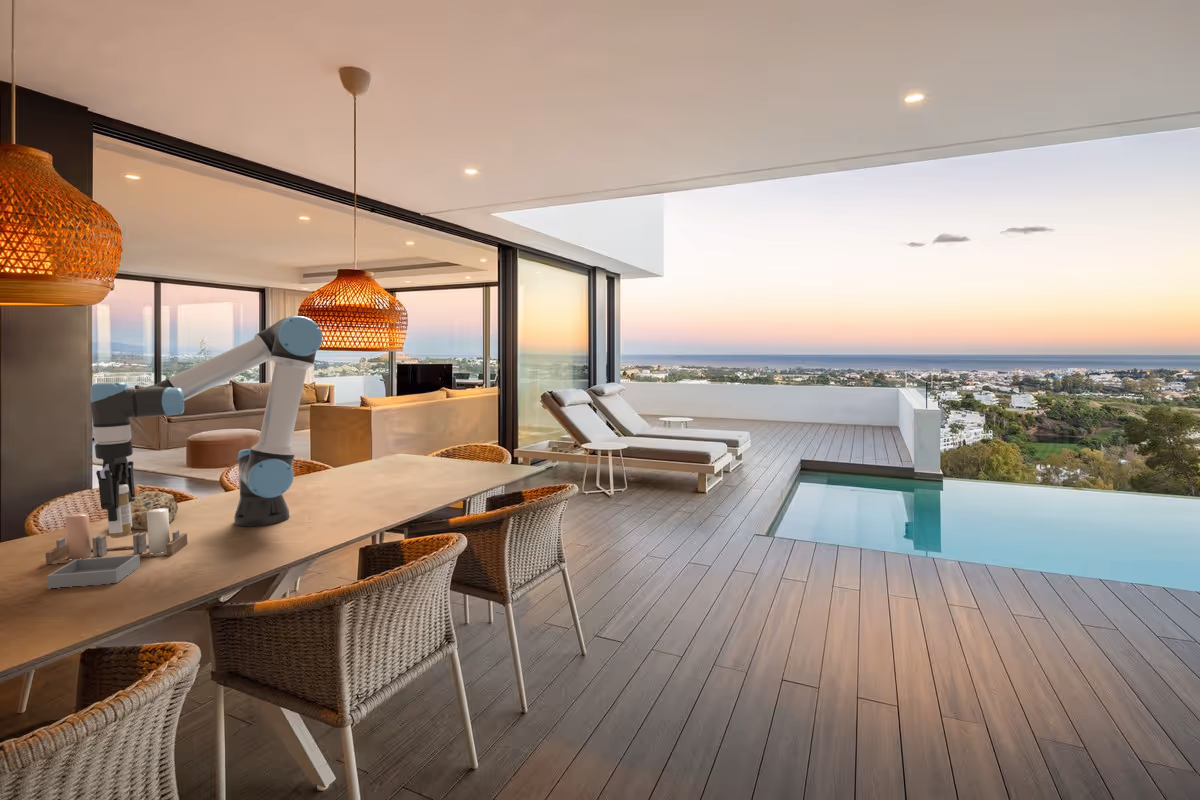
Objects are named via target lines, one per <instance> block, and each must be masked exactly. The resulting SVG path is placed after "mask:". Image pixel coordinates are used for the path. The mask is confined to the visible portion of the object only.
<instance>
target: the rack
mask: <svg viewBox="0 0 1200 800" xmlns="http://www.w3.org/2000/svg"><path fill="white" fill-rule="evenodd" d="M171 537H172V540H170V542H169V543H168V544H166V548H167V552H164V553H153V554H150V553H146V552H147V551H148V550H147V549H148V548H147V547H149V544H147V533H146V531H145V532H136V533H135V534H133V535H132V542H133V543H132V544H133V545H123V546H107V535H106V534H103V535H99V534H98V535H95V536H94V537H93V538H92V539H91V541H92V547H91V551H93V552H92V553H93V554H92V555H93V557H94V556H97V557H98V558H100V557H99V556H102V557H104V556H105V555H104V554H106V553H107V554H108V551H107V550H109V551H114V550H113V549H123V550H127V549H126V548H134V549H133V555H138V554H139V553H143V552H144V553H143V554H139V555H140V557H145V558H152V557H151V556H158V557H164V556H163V555H172V556H174V555H175V554H176V553H178V552H179V551H180V550H181V549H183V548H184V547H186V546H187V545H188V533H187V532H183V533H181V534H180V530H178V529H176V530H174V531H173V532H172V536H171ZM55 545H56V547H55V548H53V549H50V550H49V551H47V552H45V563H46V564H52V565H58V564H57V563H65V564H68V563H69V562H72V561H74V560H76V559H72V560H69V559H65V558H67V557H68V550H67V541H66V537H61V538H59V539H57V540H56V541H55ZM146 550H147V551H146ZM137 553H138V554H137ZM107 554H106V555H107ZM173 554H174V555H173ZM98 555H99V556H98ZM103 555H104V556H103ZM66 556H67V557H66ZM125 556H127V555H126V554H125ZM64 557H65V558H64ZM62 558H63V559H62ZM60 559H61V560H60ZM84 559H86V558H84Z"/></svg>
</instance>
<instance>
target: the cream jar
mask: <svg viewBox="0 0 1200 800" xmlns="http://www.w3.org/2000/svg"><path fill="white" fill-rule="evenodd" d="M147 524H148V529H147V537H148V541H147V542H148V545H149V548H148V554H150V553H161V552H164V553H167V552H166V551H167V548H166V544H168V543H169V542H171V535H170V534H171V532H170V522H169V514H168V509H166V508H161V509H153V510H149V511H147Z"/></svg>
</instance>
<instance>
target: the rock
mask: <svg viewBox="0 0 1200 800" xmlns="http://www.w3.org/2000/svg"><path fill="white" fill-rule="evenodd" d="M134 498H135V501H133V502H130V503H131V514H132V527H131V529H134V530H135V529H136V530H138V529H140V530H142V529H143V530H146V529H147V530H148V524H147V511H149V510H153V509H161V508H166V509H168V514H169V523H172V521H173V520H175V518H176V515H177V514H178V510H179V506H178V502H176V501H175V496H174V495H173V494H169V493H167V492H161V491H156V490H150V491H143V492H141V493H138V494H137V495H136V494H135V497H134Z"/></svg>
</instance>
